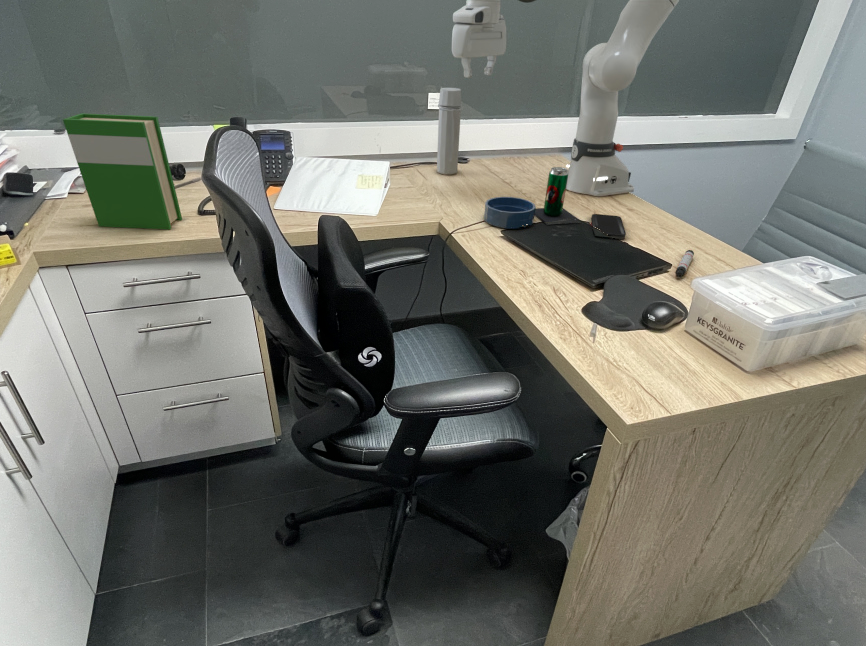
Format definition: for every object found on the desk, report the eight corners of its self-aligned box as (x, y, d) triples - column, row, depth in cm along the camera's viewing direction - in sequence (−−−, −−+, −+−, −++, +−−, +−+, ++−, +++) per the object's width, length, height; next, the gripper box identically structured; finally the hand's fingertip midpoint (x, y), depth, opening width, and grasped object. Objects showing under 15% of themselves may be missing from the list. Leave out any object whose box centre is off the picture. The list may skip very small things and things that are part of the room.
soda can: (562, 217, 147) (570, 172, 140) (544, 217, 147) (551, 171, 140) (560, 211, 151) (567, 166, 144) (541, 210, 151) (548, 166, 144)
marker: (683, 256, 128) (686, 248, 127) (692, 258, 128) (695, 250, 127) (672, 279, 118) (674, 271, 116) (681, 282, 117) (684, 273, 116)
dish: (521, 211, 152) (523, 195, 149) (541, 228, 141) (543, 211, 139) (477, 214, 149) (478, 198, 146) (493, 231, 138) (495, 214, 136)
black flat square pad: (561, 209, 155) (561, 206, 154) (580, 223, 145) (581, 221, 145) (528, 210, 153) (529, 208, 152) (546, 225, 143) (547, 223, 143)
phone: (620, 216, 147) (626, 235, 135) (619, 220, 148) (625, 239, 136) (591, 213, 148) (594, 232, 136) (590, 217, 149) (593, 236, 137)
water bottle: (433, 170, 184) (435, 87, 170) (455, 169, 186) (459, 87, 171) (439, 177, 177) (443, 91, 163) (462, 176, 179) (468, 91, 164)
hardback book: (182, 219, 139) (157, 116, 124) (170, 229, 133) (142, 122, 118) (114, 216, 139) (81, 113, 125) (98, 226, 133) (62, 119, 119)
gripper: (495, 14, 147) (490, 72, 155) (448, 13, 134) (446, 77, 143) (514, 15, 144) (508, 74, 152) (468, 15, 131) (465, 80, 139)
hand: (478, 75), depth 147 cm, fingers open, 8 cm apart
